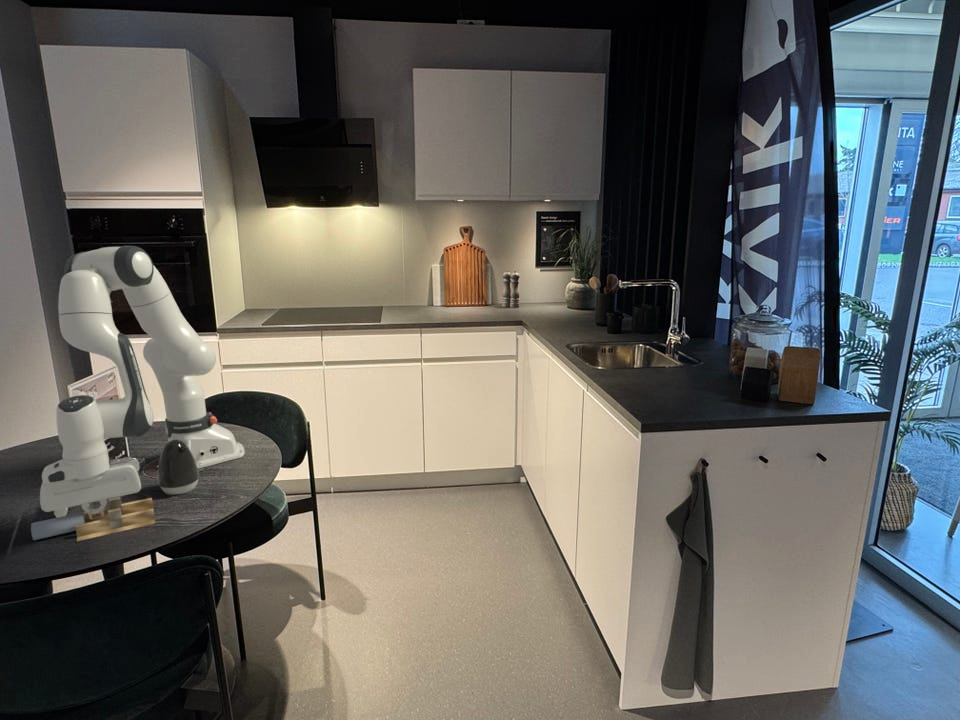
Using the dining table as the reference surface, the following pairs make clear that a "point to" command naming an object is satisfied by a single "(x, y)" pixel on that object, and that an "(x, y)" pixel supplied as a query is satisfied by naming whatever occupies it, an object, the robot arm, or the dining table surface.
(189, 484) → the dark grey egg shape
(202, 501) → the dining table surface
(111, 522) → the brown low boxy piece
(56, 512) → the tie bar
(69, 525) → the light blue block
